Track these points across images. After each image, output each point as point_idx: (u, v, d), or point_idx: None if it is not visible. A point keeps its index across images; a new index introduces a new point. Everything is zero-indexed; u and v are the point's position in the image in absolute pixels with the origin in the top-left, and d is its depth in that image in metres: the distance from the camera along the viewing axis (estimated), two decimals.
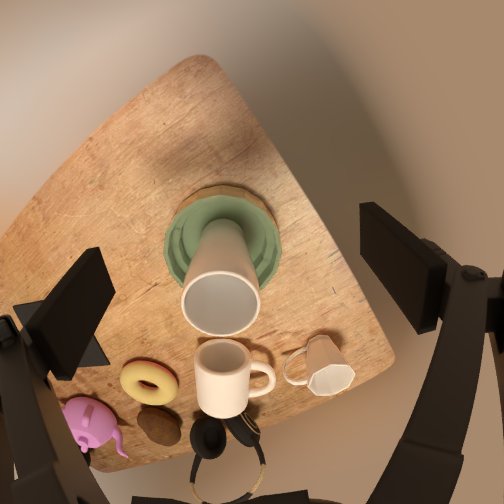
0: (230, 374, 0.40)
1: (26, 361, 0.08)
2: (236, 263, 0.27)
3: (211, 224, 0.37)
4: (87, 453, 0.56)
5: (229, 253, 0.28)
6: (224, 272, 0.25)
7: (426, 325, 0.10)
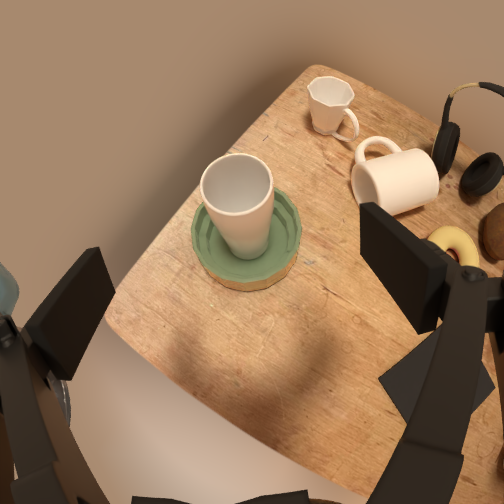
0: (368, 170, 0.37)
1: (26, 361, 0.08)
2: None
3: (232, 251, 0.40)
4: None
5: None
6: (201, 190, 0.28)
7: (426, 325, 0.10)
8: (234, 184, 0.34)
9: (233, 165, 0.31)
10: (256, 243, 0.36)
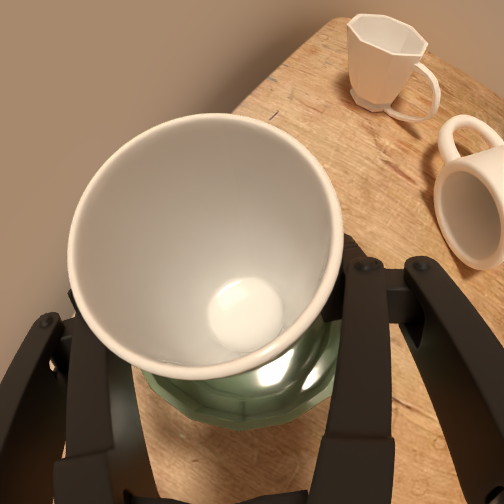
0: (485, 176, 0.15)
1: None
2: None
3: None
4: None
5: None
6: (68, 260, 0.07)
7: (331, 314, 0.12)
8: (206, 211, 0.13)
9: (194, 158, 0.10)
10: None
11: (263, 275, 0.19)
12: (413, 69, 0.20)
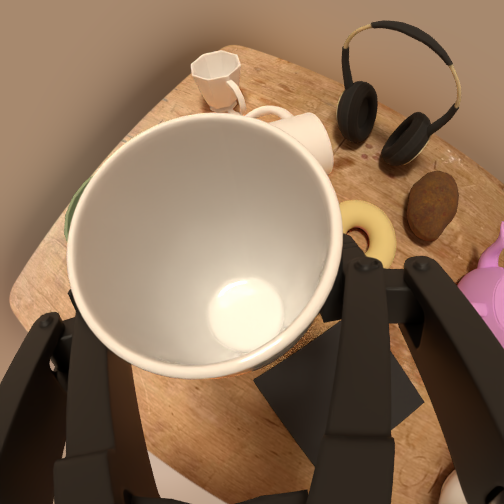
0: None
1: None
2: None
3: None
4: None
5: None
6: (68, 259, 0.07)
7: (331, 314, 0.12)
8: (206, 211, 0.13)
9: (194, 158, 0.10)
10: None
11: (263, 275, 0.19)
12: (227, 84, 0.38)
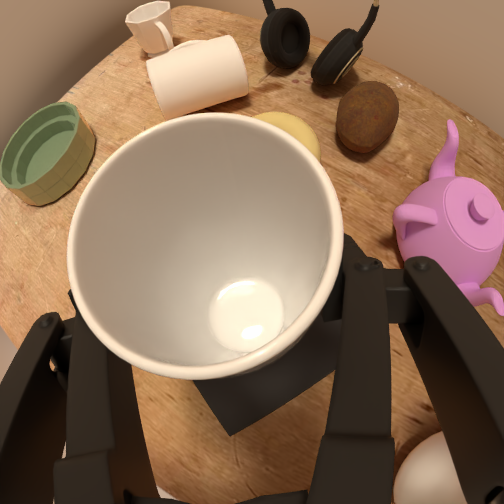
0: (146, 62, 0.30)
1: None
2: None
3: None
4: None
5: None
6: (68, 259, 0.07)
7: (331, 313, 0.12)
8: (206, 211, 0.13)
9: (194, 158, 0.10)
10: None
11: (263, 275, 0.19)
12: (156, 26, 0.35)
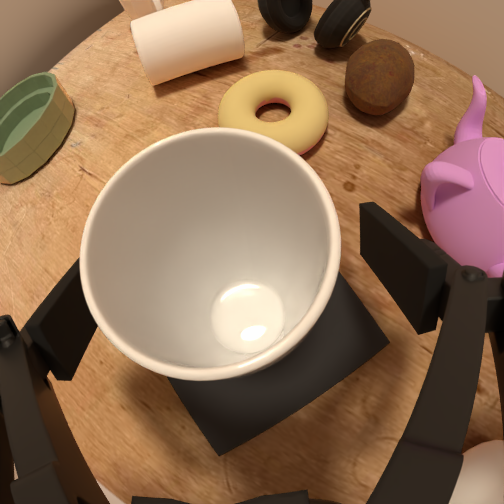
0: None
1: (26, 361, 0.08)
2: None
3: None
4: None
5: None
6: (81, 268, 0.07)
7: (426, 325, 0.10)
8: (210, 218, 0.13)
9: (199, 169, 0.10)
10: None
11: (264, 278, 0.20)
12: None
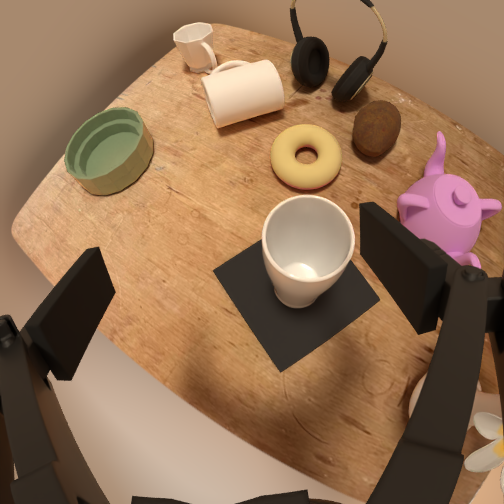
0: (202, 80, 0.39)
1: (26, 361, 0.08)
2: None
3: (282, 300, 0.34)
4: None
5: None
6: (264, 247, 0.22)
7: (426, 325, 0.10)
8: (292, 228, 0.28)
9: (297, 208, 0.25)
10: (317, 297, 0.29)
11: (308, 260, 0.35)
12: (201, 46, 0.44)
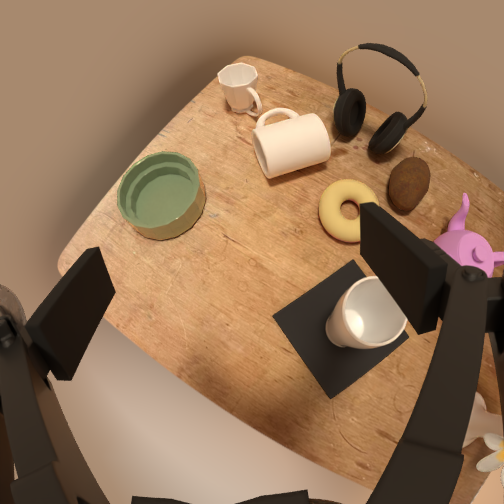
0: (256, 133, 0.45)
1: (26, 361, 0.08)
2: (338, 313, 0.30)
3: (334, 342, 0.40)
4: None
5: (335, 322, 0.31)
6: (345, 321, 0.28)
7: (426, 325, 0.10)
8: (353, 292, 0.34)
9: (363, 283, 0.31)
10: None
11: (355, 309, 0.40)
12: (247, 91, 0.49)
